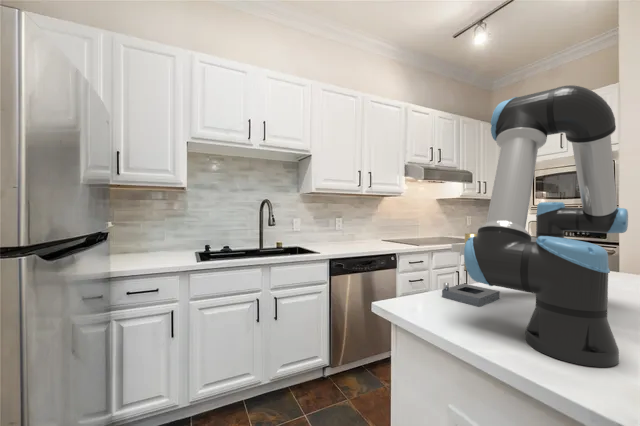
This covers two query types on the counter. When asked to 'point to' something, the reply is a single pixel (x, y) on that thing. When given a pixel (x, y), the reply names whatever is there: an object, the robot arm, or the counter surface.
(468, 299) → the jig
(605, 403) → the counter surface
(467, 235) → the bushing
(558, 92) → the robot arm
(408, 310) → the counter surface
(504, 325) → the counter surface
